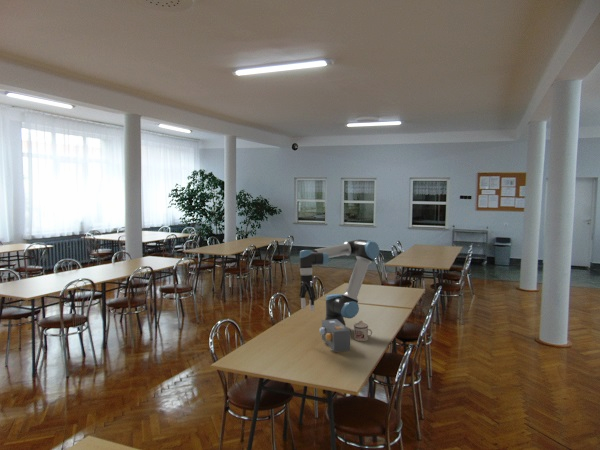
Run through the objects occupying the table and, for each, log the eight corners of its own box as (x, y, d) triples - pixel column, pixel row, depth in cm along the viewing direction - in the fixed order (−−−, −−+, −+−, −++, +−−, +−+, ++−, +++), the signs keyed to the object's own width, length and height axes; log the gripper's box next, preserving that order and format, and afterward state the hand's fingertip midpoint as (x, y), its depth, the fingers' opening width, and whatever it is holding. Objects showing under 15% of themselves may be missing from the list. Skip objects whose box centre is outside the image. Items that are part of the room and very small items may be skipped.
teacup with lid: (351, 340, 264) (351, 321, 264) (357, 335, 272) (357, 318, 272) (369, 343, 258) (369, 324, 258) (374, 338, 266) (374, 320, 266)
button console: (336, 337, 270) (336, 318, 269) (350, 350, 247) (350, 329, 246) (321, 338, 267) (321, 319, 267) (334, 352, 244) (334, 331, 243)
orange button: (331, 339, 252) (330, 332, 252) (333, 341, 248) (333, 334, 248) (325, 339, 251) (325, 332, 251) (327, 342, 247) (327, 334, 247)
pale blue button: (324, 333, 264) (324, 326, 263) (327, 335, 259) (327, 328, 259) (319, 333, 263) (319, 326, 263) (321, 335, 259) (321, 328, 258)
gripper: (293, 274, 270) (294, 307, 268) (308, 275, 247) (310, 312, 245) (304, 274, 273) (305, 307, 271) (320, 275, 250) (321, 310, 248)
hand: (307, 309), depth 258 cm, fingers open, 13 cm apart
